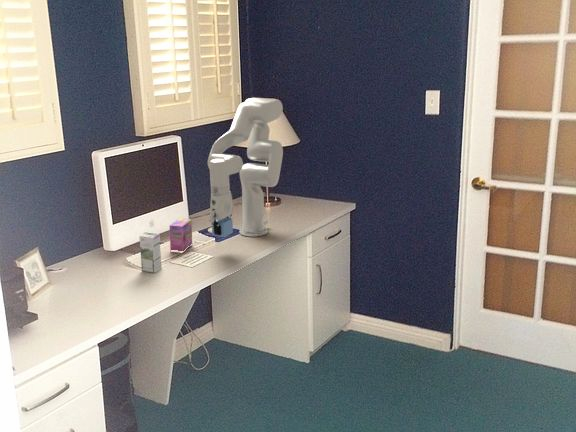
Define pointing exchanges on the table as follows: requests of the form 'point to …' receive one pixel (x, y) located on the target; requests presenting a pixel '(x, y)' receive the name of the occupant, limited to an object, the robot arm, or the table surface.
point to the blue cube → (224, 227)
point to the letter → (191, 259)
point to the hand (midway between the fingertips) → (222, 231)
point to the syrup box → (150, 252)
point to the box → (181, 234)
